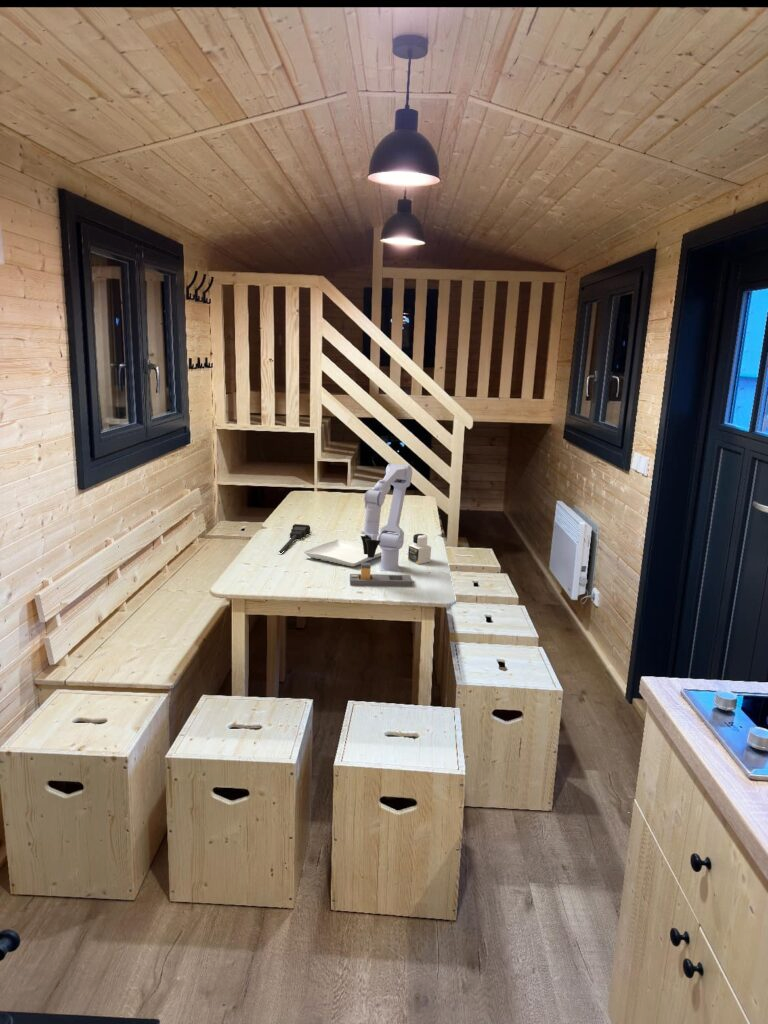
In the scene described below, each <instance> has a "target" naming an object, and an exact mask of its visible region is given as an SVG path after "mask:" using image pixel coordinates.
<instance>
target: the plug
mask: <svg viewBox="0 0 768 1024" xmlns="http://www.w3.org/2000/svg"><path fill="white" fill-rule="evenodd" d="M371 566H372V565H371V562H364V563H362V562H361V564H360V574H361V579H365V580H370V574H371Z"/></svg>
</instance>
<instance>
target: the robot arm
mask: <svg viewBox="0 0 768 1024" xmlns="http://www.w3.org/2000/svg"><path fill="white" fill-rule="evenodd" d="M412 478H413V469H412V466H411V465H410V464H409V465H407V464H406V465H405V464H397V463H388V464H387V466H386V468H385V475H384V477H383V479H379V480H377V482H376V484H374V486H373V488H371V489H368V490H366V492H365V494H364V497H363V499H364V508H365V517H364V526H363V531H360V534H362V535H360V539H361V543H362V544H363V550H364V554H368V558H374V555H375V552H376V549H377V548H381V549H382V552H381V556H380V559H381V560H380V563H379V564H378V566H379V570H380V572H400V566H399V554H400V553H399V552H400V550H401V549H402V548H403V546H404V544H405V543H404V541H405V533H404V530H403V529H402V528H401V527H400V522H401V521H400V520H401V516H402V510H403V506H404V502H405V501H404V500H405V496H406V490H407V488H409V487H410V486H411V483H412ZM391 486H393V492H392V497H391V502H390V503H391V504H390V508H389V513H388V519H387V523H386V524H385V525H384V526H382V527H381V528H380V522H381V521H380V520H381V512H382V506H383V505H384V504H385V503H384V502H385V501H386V500H385V499H386V496H387V494H388V493H389V492H390V490H391ZM378 546H379V547H378Z"/></svg>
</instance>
